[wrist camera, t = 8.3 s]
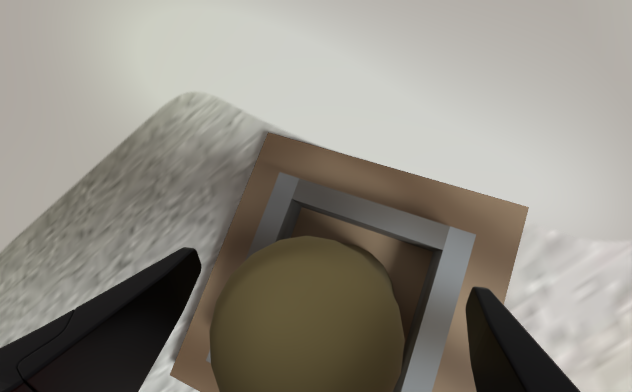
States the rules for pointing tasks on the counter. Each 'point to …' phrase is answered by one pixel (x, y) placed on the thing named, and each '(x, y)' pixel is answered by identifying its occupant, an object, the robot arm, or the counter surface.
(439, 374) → the socket base
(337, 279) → the cork
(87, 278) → the counter surface
